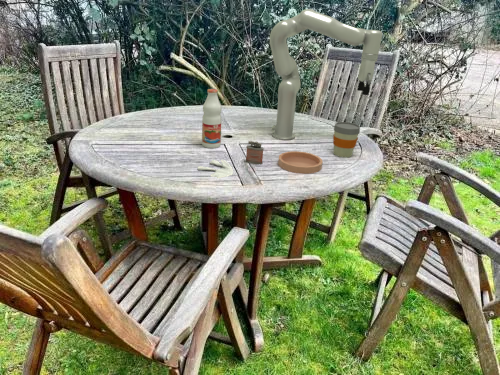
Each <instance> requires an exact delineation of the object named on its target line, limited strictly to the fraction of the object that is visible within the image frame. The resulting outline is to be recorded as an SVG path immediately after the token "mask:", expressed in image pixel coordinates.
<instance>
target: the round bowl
mask: <svg viewBox="0 0 500 375" xmlns="http://www.w3.org/2000/svg"><path fill="white" fill-rule="evenodd" d="M277 162H278V164H277V165H278V166H279V167H280V168H281V169H282V170H285V171H287V172H291V173H295V174H305V175H307V174H315V173H317V172H320V171H321V170H322V168H323V164H324V163H323V162H324V161H323V158H321V157H320V156H318V155H316V154H314V153H311V152H306V151H299V150H298V151H297V150H296V151H295V150H294V151H285V152H282V153H280V154H279V155H278V161H277Z"/></svg>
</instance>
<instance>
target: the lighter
mask: <svg viewBox="0 0 500 375" xmlns="http://www.w3.org/2000/svg"><path fill="white" fill-rule="evenodd" d="M247 143H248V145H247V144H246V156H245V157H246V158H245V162H246V163H248V164H252V165H253V164H254V165H259V164H260V166H261V165H263V163H264V162H263V160H264V159H263V158H264V150H265V149H264V147H262V142H258V141H252V140H248V142H247Z"/></svg>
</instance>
